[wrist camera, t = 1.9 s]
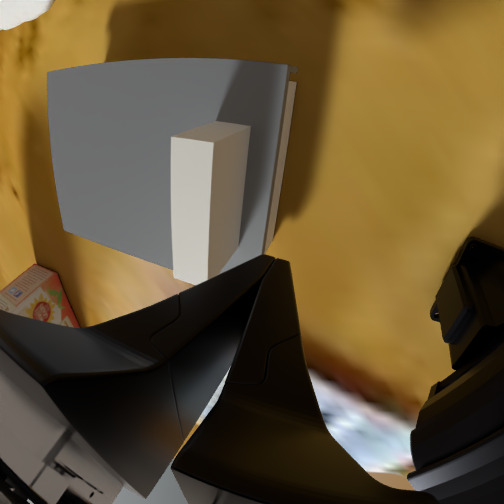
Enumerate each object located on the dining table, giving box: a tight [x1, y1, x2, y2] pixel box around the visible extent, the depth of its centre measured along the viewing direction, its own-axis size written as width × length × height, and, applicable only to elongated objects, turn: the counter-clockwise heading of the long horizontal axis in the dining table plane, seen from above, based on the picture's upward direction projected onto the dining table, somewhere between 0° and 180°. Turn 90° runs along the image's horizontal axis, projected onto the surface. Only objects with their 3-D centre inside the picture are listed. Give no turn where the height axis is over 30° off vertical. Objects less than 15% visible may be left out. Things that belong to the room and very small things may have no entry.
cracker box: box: [0, 264, 80, 328], centre depth 28 cm, size 14×6×21 cm, turn 179°
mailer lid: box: [47, 58, 298, 285], centre depth 15 cm, size 15×12×6 cm
